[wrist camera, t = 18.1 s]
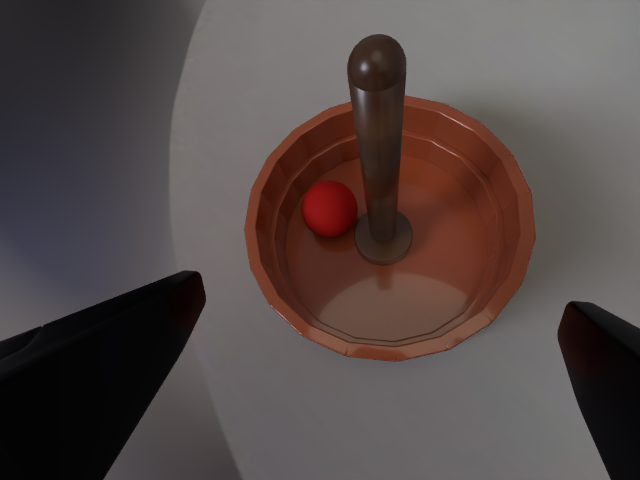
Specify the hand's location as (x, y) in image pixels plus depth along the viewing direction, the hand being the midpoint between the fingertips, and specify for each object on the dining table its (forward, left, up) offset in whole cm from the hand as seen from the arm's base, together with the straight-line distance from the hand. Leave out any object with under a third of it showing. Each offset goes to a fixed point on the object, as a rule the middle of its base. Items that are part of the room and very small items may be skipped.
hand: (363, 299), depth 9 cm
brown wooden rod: (+4, +3, -11) cm, 12 cm away
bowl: (+4, +3, -11) cm, 12 cm away
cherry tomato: (+3, +6, -9) cm, 11 cm away
